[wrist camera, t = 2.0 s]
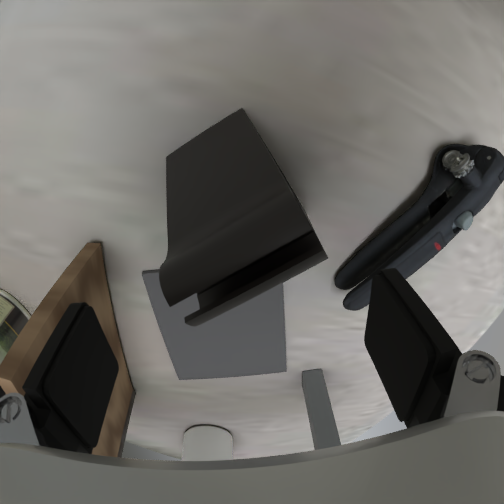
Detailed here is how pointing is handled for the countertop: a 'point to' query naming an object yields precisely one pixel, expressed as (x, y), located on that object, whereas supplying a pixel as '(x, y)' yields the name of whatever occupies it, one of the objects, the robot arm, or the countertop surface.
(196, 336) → the rubber mat
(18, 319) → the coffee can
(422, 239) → the can opener
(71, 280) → the gate door
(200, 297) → the phone stand
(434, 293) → the countertop surface
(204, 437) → the can
